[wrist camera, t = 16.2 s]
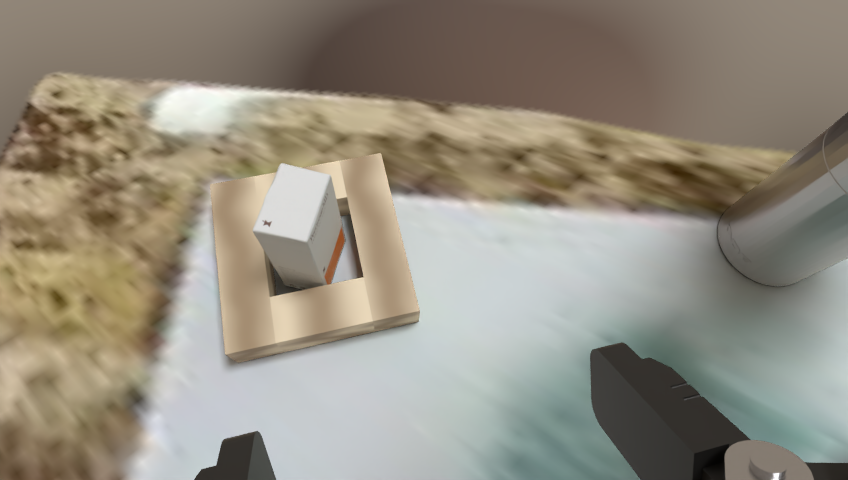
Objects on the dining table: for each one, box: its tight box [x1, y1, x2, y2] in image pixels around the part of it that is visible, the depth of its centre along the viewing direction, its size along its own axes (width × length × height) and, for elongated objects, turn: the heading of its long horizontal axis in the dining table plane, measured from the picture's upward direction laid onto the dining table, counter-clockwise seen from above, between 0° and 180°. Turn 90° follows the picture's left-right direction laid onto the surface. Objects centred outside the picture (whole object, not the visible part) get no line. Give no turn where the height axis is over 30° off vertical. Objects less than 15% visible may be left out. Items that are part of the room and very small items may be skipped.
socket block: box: [210, 153, 420, 363], centre depth 47 cm, size 16×16×4 cm
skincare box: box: [253, 163, 346, 290], centre depth 43 cm, size 6×4×12 cm
